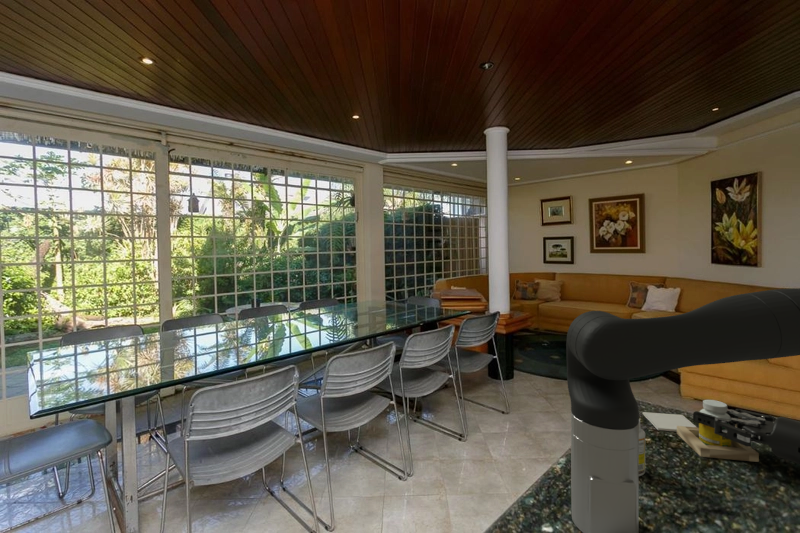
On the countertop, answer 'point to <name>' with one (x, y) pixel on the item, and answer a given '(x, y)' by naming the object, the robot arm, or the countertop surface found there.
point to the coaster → (667, 421)
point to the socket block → (716, 447)
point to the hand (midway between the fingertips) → (700, 412)
